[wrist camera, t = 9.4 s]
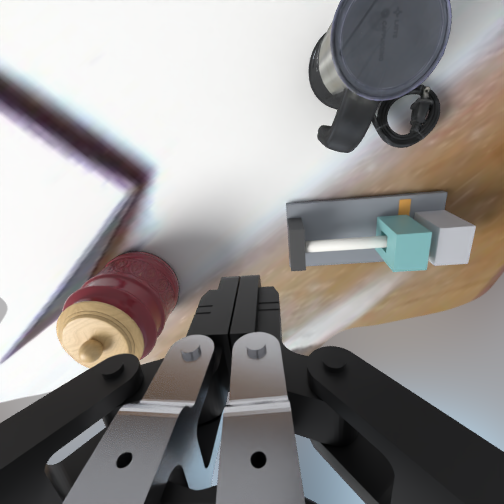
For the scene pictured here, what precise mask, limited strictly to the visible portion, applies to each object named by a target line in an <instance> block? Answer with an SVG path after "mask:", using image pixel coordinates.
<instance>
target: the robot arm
mask: <svg viewBox="0 0 504 504" xmlns="http://www.w3.org/2000/svg"><path fill="white" fill-rule="evenodd" d="M228 392H230V396H229V405H226V402H227V396H228ZM101 418H102V419H103V421H104V424H105V426H106V428H104V429H103V430H102V431H101V432H99V433H98V434H97V435H95V436H94V437H93V438H91V439H90V440H89V441H87V442H86V443H85V444H83V445H82V446H81V447H80V448H78V449H77V450H76V451H75V452H73V453H72V454H71V455H69V456H68V457H67V458H65V459H64V460H63V461H61V462H59V463H57V464H54V465H47V464H46V463H47V461H48V460H49V458H50V457H51V456H52V455H53V454H54V453H55V452H56V451H58V450H59V449H61V448H62V447H63V446H65V445H66V444H67V443H69V442H70V441H71V440H73V439H74V438H75V437H77V436H78V435H80V434H81V433H82V432H84V431H85V430H86V429H88V428H89V427H90V426H92V425H93V424H94V423H96V422H97V421H99V420H100V419H101ZM295 434H297V435H300V436H303V437H306V438H309V439H310V440H311V442H312V444H313V446H314V448H315V449H316V450H317V451H318V452H319V453H320V455H321V456H322V457H323V458H324V459H325V460H326V461H327V462H328V463H329V464H330V465H331V467H332V468H333V469H334V470H335V471H336V472H337V473H338V474H339V475H340V476H341V477H342V479H343V480H344V481H345V482H346V483H347V484H348V485H349V486H350V487H351V488H352V489H353V490H354V491H355V493H357V495H358V496H359V497H360V498H361V499H362V500H363V501H364V502H365V504H504V452H503V451H501V450H500V449H498V448H497V447H495V446H494V445H492V444H491V443H489V442H488V441H486V440H485V439H483V438H482V437H480V436H479V435H477V434H476V433H474V432H472V431H471V430H469V429H468V428H466V427H465V426H463V425H462V424H460V423H459V422H457V421H456V420H454V419H453V418H451V417H449V416H448V415H446V414H445V413H443V412H442V411H440V410H439V409H437V408H436V407H434V406H432V405H431V404H430V403H428V402H427V401H425V400H423V399H422V398H420V397H419V396H417V395H416V394H414V393H412V392H411V391H410V390H408V389H407V388H405V387H404V386H402V385H401V384H399V383H398V382H396V381H394V380H393V379H391V378H390V377H388V376H387V375H385V374H384V373H382V372H381V371H379V370H378V369H376V368H375V367H373V366H371V365H370V364H368V363H367V362H365V361H364V360H362V359H361V358H359V357H358V356H356V355H355V354H353V353H351V352H350V351H348V350H346V349H344V348H340V347H334V346H327V347H322V348H319V349H317V350H315V351H313V352H312V353H311V354H310V355H309V356H304V355H300V354H297V353H294V352H292V351H290V350H289V349H287V348H286V347H285V346H284V345H283V343H282V333H281V317H280V304H279V293H278V292H277V291H276V289H275V288H274V287H273V286H272V287H261V282H260V276H259V275H250V276H241V277H240V276H235V277H222V278H221V281H220V284H219V287H218V290H209V291H208V292H207V293H206V294H205V295H204V296H203V297H202V298H201V300H200V303H199V305H198V308H197V310H196V314H195V315H194V318H193V320H192V323H191V325H190V328H189V330H188V333H187V336H186V337H184V338H182V339H180V340H178V341H177V342H175V343H174V344H173V345H172V346H171V347H170V349H169V351H168V352H167V354H166V356H165V358H163V359H160V360H157V361H153V362H150V363H146V364H143V365H140V362H139V359H138V358H137V357H136V356H135V355H133V354H128V353H124V354H118V355H114V356H111V357H109V358H107V359H105V360H103V361H102V362H100V363H98V364H97V365H95V366H93V367H92V368H90V369H88V370H87V371H85V372H84V373H82V374H80V375H79V376H77V377H75V378H74V379H72V380H70V381H69V382H67V383H66V384H64V385H62V386H61V387H59V388H57V389H56V390H54V391H52V392H51V393H49V394H47V395H46V396H44V397H43V398H41V399H39V400H38V401H36V402H34V403H33V404H31V405H29V406H28V407H26V408H25V409H23V410H21V411H20V412H18V413H16V414H15V415H13V416H11V417H10V418H8V419H7V420H5V421H3V422H2V423H0V504H317V503H316V502H314V501H312V500H310V499H308V498H306V497H304V492H303V485H302V479H301V472H300V467H299V459H298V453H297V446H296V440H295ZM220 442H221V447H220V459H219V471H218V483H217V485H216V486H213V487H212V477H213V472H214V467H215V463H216V459H217V455H218V450H219V446H220Z"/></svg>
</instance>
